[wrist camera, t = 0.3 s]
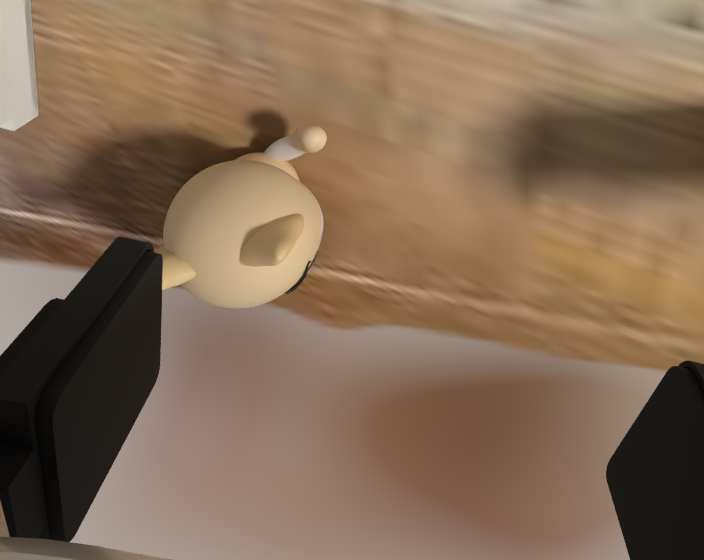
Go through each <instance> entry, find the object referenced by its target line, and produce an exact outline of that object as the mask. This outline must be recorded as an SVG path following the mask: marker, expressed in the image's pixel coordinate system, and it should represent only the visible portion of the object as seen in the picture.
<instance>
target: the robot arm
mask: <svg viewBox="0 0 704 560" xmlns="http://www.w3.org/2000/svg"><path fill="white" fill-rule="evenodd" d="M162 273H163V257H162V255H161V254H159V253H155V252H154V249H153V245H152V244H151V243H147V242H142V241H138V240H133V239H129V238H124V237H118V238H117V239H115V240H114V242H113V243H112V244H111V245H110V246H109V248H108V249H107V250H106V251H105V252H104V253H103V255H102V256H101V257H100V258H99V259H98V261H97V262H96V263H95V264H94V265H93V266H92V268H91V269H90V270H89V271H88V272H87V274H86V275H85V276H84V277H83V278H82V279H81V281H80V282H79V283H78V284H77V285H76V287H75V288H74V289H73V290H72V291H71V292H70V294H69V295H68V296H67V297H66V298H65V300H63V299H58V298H56V299H53V300H50V301H49V302H48V303H47V304H46V305H45V306H44V307H43V308H42V309H41V311H40V312H39V313H38V314H37V315H36V316H35V317H34V319H33V320H32V321H31V322H30V323H29V324H28V325H27V326H26V327H25V329H24V330H23V331H22V332H21V333H20V334H19V335H18V337H17V338H16V339H15V340H14V341H13V343H11V344H10V346H9V347H8V348H7V349H6V350H5V351H4V352H3V354H2V355H1V356H0V560H170V559H165V558H159V557H154V556H148V555H143V554H137V553H132V552H126V551H121V550H115V549H110V548H105V547H99V546H92V545H85V544H78V543H70V541H71V540H72V539H73V537H74V536H75V534H76V532H77V531H78V529H79V527H80V525H81V523H82V521H83V519H84V517H85V515H86V514H87V512H88V510H89V508H90V506H91V504H92V502H93V500H94V498H95V497H96V494H97V493H98V491H99V489H100V487H101V485H102V483H103V481H104V479H105V478H106V475H107V474H108V472H109V470H110V468H111V466H112V464H113V462H114V460H115V459H116V457H117V455H118V453H119V451H120V449H121V447H122V445H123V444H124V442H125V440H126V438H127V436H128V434H129V432H130V430H131V428H132V427H133V425H134V423H135V421H136V419H137V417H138V415H139V413H140V411H141V409H142V408H143V406H144V404H145V402H146V400H147V398H148V396H149V394H150V392H151V390H152V389H153V387H154V385H155V383H156V380H157V377H158V374H159V369H160V347H161V346H160V345H161V311H162ZM606 478H607V483H608V486H609V489H610V493H611V496H612V500H613V503H614V506H615V510H616V513H617V516H618V520H619V523H620V526H621V530H622V533H623V536H624V540H625V543H626V547H627V550H628V553H629V557H630V560H704V364H701V363H697V362H692V361H684V362H682V363H681V364H680V365H679V366H673V367H671V368H670V369H669V370H668V371H667V372H666V374H665V376H664V377H663V379H662V380H661V382H660V383H659V385H658V386H657V388H656V389H655V391H654V392H653V394H652V396H651V397H650V399H649V400H648V402H647V403H646V405H645V406H644V408H643V409H642V411H641V412H640V414H639V416H638V417H637V419H636V420H635V422H634V423H633V425H632V426H631V428H630V429H629V431H628V433H627V434H626V436H625V437H624V439H623V440H622V442H621V443H620V445H619V446H618V448H617V449H616V451H615V453H614V454H613V456H612V457H611V459H610V461H609V463H608V465H607V470H606Z"/></svg>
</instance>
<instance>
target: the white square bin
mask: <svg viewBox="0 0 704 560" xmlns="http://www.w3.org/2000/svg"><path fill="white" fill-rule="evenodd" d="M38 115H39V111H38V97H37V83H36V70H35V56H34V42H33V28H32V15H31V1H30V0H0V128H4V129H8V130H12V131H15V130H16V129H18V128H20V127H21V126H23V125H24V124H26V123H27V122H29V121H31V120H32V119H34V118H35V117H37V116H38Z"/></svg>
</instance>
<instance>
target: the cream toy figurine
mask: <svg viewBox="0 0 704 560" xmlns="http://www.w3.org/2000/svg"><path fill="white" fill-rule="evenodd" d="M326 140H327V137H326V133H325V132H324V130H323V129H322V128H320V127H318V126H316V125H312V124H307V125H303V126H301V127H299V128H298V129H297V130H296V131H295V132H294V133H293V134H291V135H289V136H286V137H284V138H281V139H279V140H277V141H276V142H274V143H273V144H271V145H270V146H269V147H268V148H267V149H266V151H265V152H264V153H250V154H246V155H243V156H241V157H239V158H237V159H235V160H234V161H227V162H222V163H219V164H216V165H213V166H211V167H208V168H206V169H204V170H202V171H201V172H199V173H198V174H196V175H195V176H193V177H192V178H191V179H190V180H189V181H188V182H186V183H185V184H184V186H183V187H182V188H181V189H180V190H179V192H178V193H177V194H176V196H175V198H174V199H173V201H172V203H171V205H170V207H169V210H168V212H167V215H166V219H165V223H164V230H163V246H162V247H160V248H159V249H157V250H156V251H155V253H159V254H161V255H162V257H163V273H162V290H165V289H167V288H170V287H173V286H177V285H180V284H181V285H182V286H183V287H184V288H185V289H186V290H187V291H188V292H190V293H191V294H192V295H194V296H195V297H197V298H199V299H201V300H203V301H205V302H207V303H210V304H213V305H217V306H221V307H227V308H247V307H253V306H257V305H261V304H264V303H267V302H269V301H271V300H273V299H275V298H277V297H279V296H280V295H282V294H284V293H286V294H288V293H290V292H292V291H293V290H295V289H296V288H297V287H298V286H299V285H300V283H301V282H302V281H303V280H304V278H305V277H306V274H307V272H308V270H309V269H310V267H311V266H312V264H313V263H314V261H315V259H316V256H317V252H318V251H317V250H318V248H319V245H320V242H321V238H322V233H323V216H322V211H321V208H320V206H319V204H318V202H317V200H316V198H315V197H314V196H313V194H312V193H311V192H310V191H309V190H308V189H307V188H306V187H305V186H304V185H303V184H302V183H301V182H300V181H299V178H298V175H297V173H296V171H295V169H294V168H293V167H292V165H291V164H290V163H288V162H287V161H288V160H291V159H294V158H296V157H298V156H300V155H302V154H304V153H306V152H308V153H315V152H318V151H319V150H321V149H322V148H323V147H324V145H325V143H326Z"/></svg>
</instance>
